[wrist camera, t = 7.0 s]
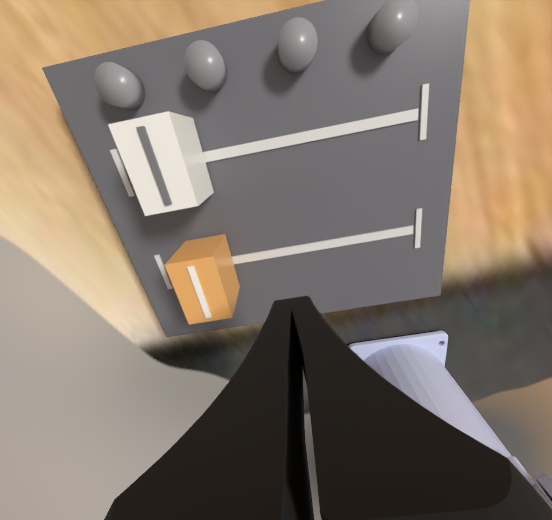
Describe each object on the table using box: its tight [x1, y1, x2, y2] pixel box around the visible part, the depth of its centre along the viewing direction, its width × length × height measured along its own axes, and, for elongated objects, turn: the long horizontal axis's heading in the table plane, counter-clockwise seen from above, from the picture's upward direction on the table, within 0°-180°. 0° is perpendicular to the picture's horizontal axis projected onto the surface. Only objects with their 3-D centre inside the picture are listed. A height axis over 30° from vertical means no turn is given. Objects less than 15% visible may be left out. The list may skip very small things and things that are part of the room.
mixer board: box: [42, 0, 470, 337], centre depth 15 cm, size 16×19×3 cm
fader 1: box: [108, 111, 214, 216], centre depth 12 cm, size 4×2×3 cm, turn 10°
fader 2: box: [165, 234, 240, 324], centre depth 14 cm, size 4×2×3 cm, turn 10°
